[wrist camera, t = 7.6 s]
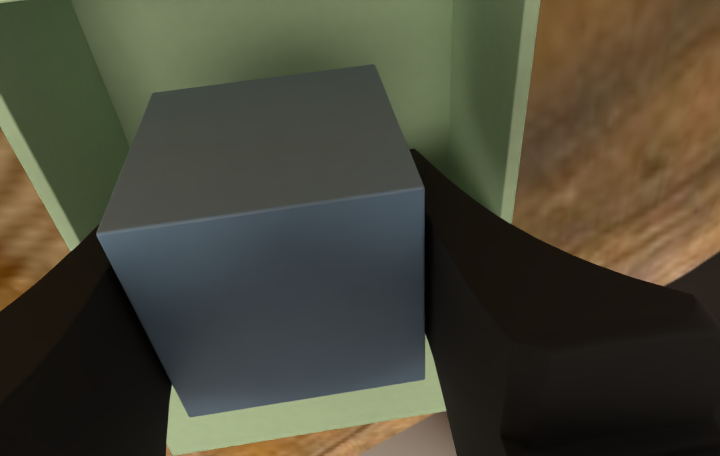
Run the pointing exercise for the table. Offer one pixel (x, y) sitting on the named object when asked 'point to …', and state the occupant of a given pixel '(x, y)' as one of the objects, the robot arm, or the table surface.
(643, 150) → the table surface
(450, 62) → the green open box
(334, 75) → the cube
